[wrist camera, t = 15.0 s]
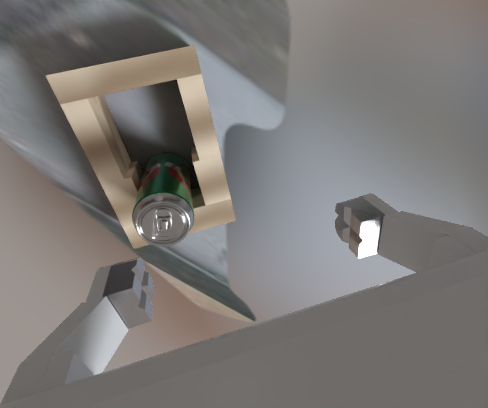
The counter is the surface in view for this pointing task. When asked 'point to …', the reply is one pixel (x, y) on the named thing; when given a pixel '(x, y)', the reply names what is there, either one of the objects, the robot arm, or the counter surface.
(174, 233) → the soda can
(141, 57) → the keyhole board
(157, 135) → the counter surface
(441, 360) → the robot arm
